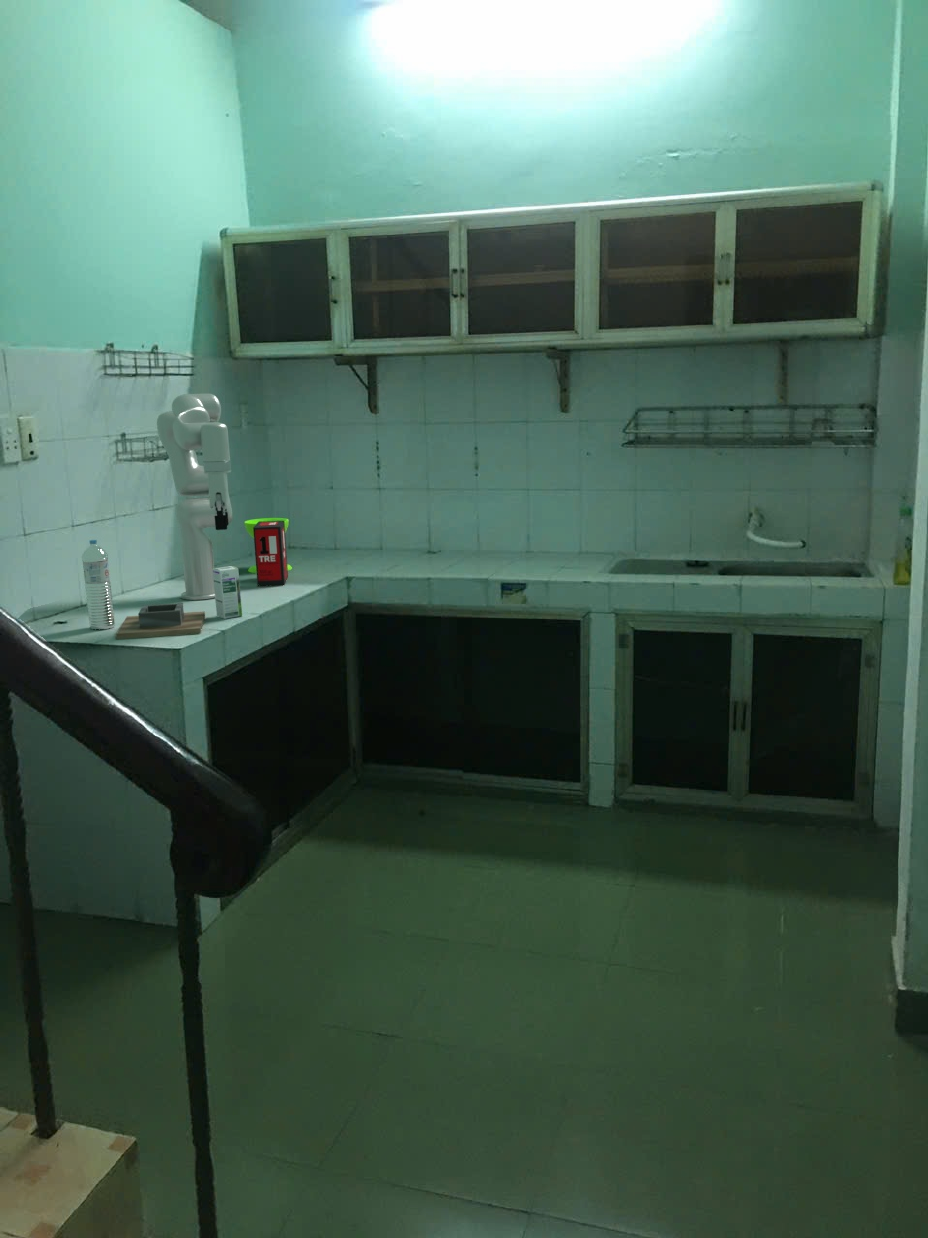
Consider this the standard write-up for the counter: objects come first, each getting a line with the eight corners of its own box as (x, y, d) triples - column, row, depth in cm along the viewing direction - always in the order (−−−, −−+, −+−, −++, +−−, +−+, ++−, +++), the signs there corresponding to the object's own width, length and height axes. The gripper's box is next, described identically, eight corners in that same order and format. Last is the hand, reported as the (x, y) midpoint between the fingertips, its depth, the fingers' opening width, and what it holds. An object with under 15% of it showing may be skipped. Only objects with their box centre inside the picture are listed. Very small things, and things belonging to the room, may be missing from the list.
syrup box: (224, 619, 291) (220, 570, 288) (216, 616, 296) (212, 567, 293) (242, 616, 295) (238, 567, 291) (234, 613, 299) (230, 565, 296)
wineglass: (299, 566, 376) (296, 518, 372) (280, 573, 362) (276, 524, 357) (260, 565, 381) (256, 517, 377) (240, 572, 366) (236, 523, 362)
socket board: (127, 621, 292) (125, 602, 291) (205, 616, 296) (203, 598, 295) (116, 639, 271) (114, 619, 270) (200, 633, 275) (198, 613, 274)
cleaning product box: (284, 585, 340) (280, 526, 335) (257, 586, 339) (253, 527, 335) (288, 576, 356) (284, 520, 351) (262, 577, 355) (258, 521, 351)
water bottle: (99, 624, 289) (90, 538, 284) (120, 625, 287) (111, 538, 282) (84, 629, 283) (74, 541, 277) (105, 630, 281) (95, 542, 275)
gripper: (205, 466, 293) (210, 524, 297) (201, 470, 276) (207, 532, 280) (231, 465, 294) (236, 523, 298) (229, 468, 278) (234, 530, 281)
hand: (222, 527), depth 289 cm, fingers open, 9 cm apart
